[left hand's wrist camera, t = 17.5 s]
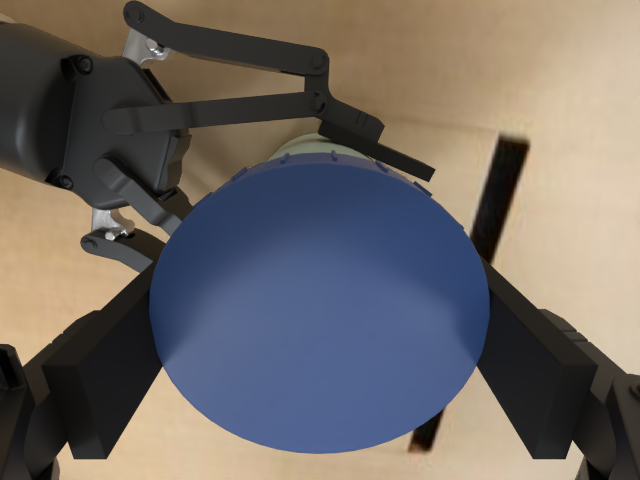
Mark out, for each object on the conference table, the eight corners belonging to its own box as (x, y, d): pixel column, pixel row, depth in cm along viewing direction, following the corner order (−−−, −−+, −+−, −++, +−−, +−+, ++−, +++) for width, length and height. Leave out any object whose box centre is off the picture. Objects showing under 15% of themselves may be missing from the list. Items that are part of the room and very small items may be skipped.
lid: (157, 373, 14) (129, 420, 12) (200, 105, 10) (170, 105, 8) (400, 428, 15) (413, 480, 13) (516, 201, 11) (559, 222, 9)
